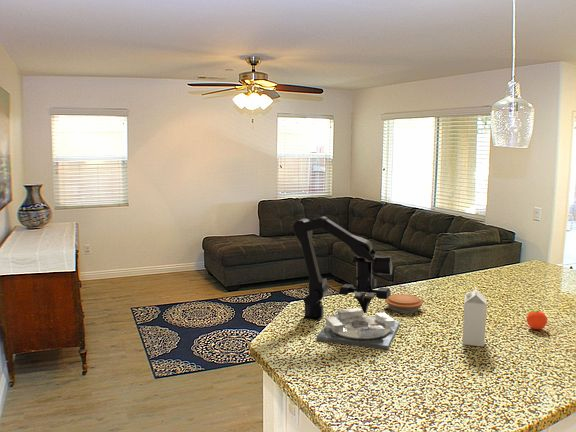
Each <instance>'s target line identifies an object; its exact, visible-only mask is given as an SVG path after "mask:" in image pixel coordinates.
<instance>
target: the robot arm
mask: <svg viewBox="0 0 576 432" xmlns="http://www.w3.org/2000/svg"><path fill="white" fill-rule="evenodd" d="M317 229H322V230H324V231H325V232H327V233H328V234H329V235H332V236H333V237H335V238H336V239H338V240H340V241H341V242H342V243H344V244H346V245H347V247H349V249H350V250H351V251H352V252H353V253H354V254H355V255H354V257H353V258H352V259H351V260H350V262H351V263H355V264H356V277H355V281H356V287H355V286H354V284H349V283H345V284H343V285H342V286H340V288H339V289H338V290H339V293H338V294H339V295H342V296H347V295H349V294H350V293H354V296H353V298H354V299H356V301H357V303H358V304H359V305H360V306H359V307H360V309H361V310H363V314H367V312H368V309H369V306H370V302H372V300H374V298H375V297H376V298H377V299H379V300H380V299H381V300H385V299H387V298H388V297H390V296H391V295H392V293H391V292H392V291H391V289H390V288H389V287H379V288H378V289H375V288H377V284H378V283H377V282H378V279H377V278H374V274H376V275H384V276H385V275H387V276H388V275H389V276H391V275H392V274H393V262H392V256H391V255H390V256H389V255H388V256H387V255H386V256H380V255H379V254H378V253H377V252H376V251H375V249H374V248H373V243H372V242H371V240H369V239H366V238H364V237H362V236H357V235H355V234H353V233H351V232H349V230H347V229H345V228H343V227H342V226H340V225H339V224H337V223H335V222H334V221H333V220H331V219H329V218H328V217H327V216H321V217H316V218H312V219H311V218H310V219H308V218H301V219H299V220H297V221H295V222H294V224H293V226H292V230H293V233H294V235H295V237H296V239H297V240H298V242H299V243H300V245H301V250H302V254H303V258H304V261H305V266H306V271H307V274H308V294H307V296H305V297H304V298H303V303H304V316H303V317H302V318H303V319H305V320H306V319H308V320H313V321H319V320H321V318H322V317H324V305H323V301H322V300H323V299H324V297H326V295H327V293H328V291H329V285H328V281H327V280H328V279H327V277H326V278H325V277H324V278H323V277H322V275H321V273H320V268H319V264H318V259H317V256H316V251H315V248H314V244H313V233H314V232H313V231H314V230H317ZM373 273H374V274H373Z"/></svg>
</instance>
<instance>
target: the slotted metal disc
mask: <svg viewBox="0 0 576 432" xmlns="http://www.w3.org/2000/svg"><path fill="white" fill-rule="evenodd" d="M337 314H338V317H339V318H336V317H334V316H328V317H327V316H326V317H325V326H326V325H327V326H328V327H329V328H330V330H331V331H332V332H333V333H335V334H337V335H339V336H342V337H346V338H350V339H361V340H368V339H377V338H381V337H384V336H386V335H388V334H389V333H390V329H391V327H394V321H396V320H395V319H393V318H392V317H391V316H389V315H388V314H387V313H386V312H376V313H374V314H375V316H369V315H364V312H363V310H362V308H361V307H354V308H343V309H337Z"/></svg>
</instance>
